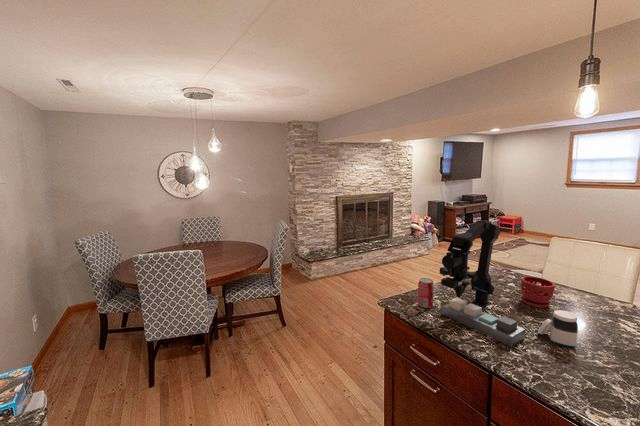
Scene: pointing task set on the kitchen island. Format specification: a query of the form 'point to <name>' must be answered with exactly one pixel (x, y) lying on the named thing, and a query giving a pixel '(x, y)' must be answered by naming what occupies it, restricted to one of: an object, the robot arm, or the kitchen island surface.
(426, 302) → the soda can
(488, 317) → the key teal
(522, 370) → the kitchen island surface
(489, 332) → the key panel
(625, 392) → the kitchen island surface
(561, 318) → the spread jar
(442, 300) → the kitchen island surface
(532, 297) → the plant pot
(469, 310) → the key grey
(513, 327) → the key black
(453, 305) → the key ivory
